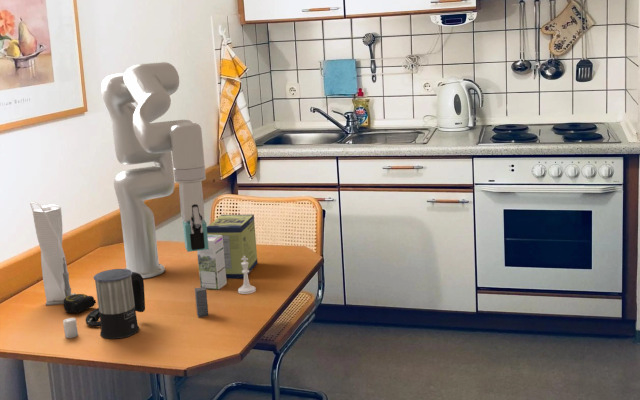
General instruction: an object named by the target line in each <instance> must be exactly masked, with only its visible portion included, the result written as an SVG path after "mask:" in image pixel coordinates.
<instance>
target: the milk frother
mask: <svg viewBox="0 0 640 400" xmlns="http://www.w3.org/2000/svg"><path fill="white" fill-rule="evenodd" d="M93 280H94V281H95V291H96V296H97V297H96V298H97V306H98V307H97V308H95V309H93V310H92V311H90V312H89V313H88V314H87V315H86V316H85V319H84V321H85V323H86V324H87V325H88V327H89V326H90V327H94V328H95V327H97V328H98V327H100V333H99V334H100V336H101V337H102V338H105V339H110V340H111V339H112V340H113V339H114V340H115V339H116V340H117V339H124V338H128V337H130V336H133V335H135V334H136V333H137V332H139V330H140V326H139V323H138V319H137V318H138V317H137V312H138V313H143V312H145V310H146V299H145V296H146V295H145V281H144V278H142V276H141V275H140V274H139V273H136V272H132V271H131V270H128V269H125V268H114V269H108V270H107V269H106V270H103V271H100V272H97V273H96V274H94V276H93Z"/></svg>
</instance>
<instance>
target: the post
mask: <svg viewBox="0 0 640 400" xmlns="http://www.w3.org/2000/svg"><path fill="white" fill-rule="evenodd" d="M207 293H208V292H207V289H206V288H205V287H194V295H195V308H196V316H197V318H205V317H210V316H209V304H208V295H207Z"/></svg>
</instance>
